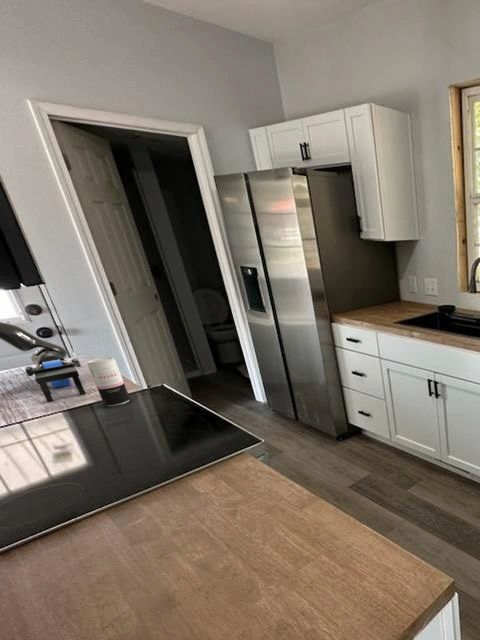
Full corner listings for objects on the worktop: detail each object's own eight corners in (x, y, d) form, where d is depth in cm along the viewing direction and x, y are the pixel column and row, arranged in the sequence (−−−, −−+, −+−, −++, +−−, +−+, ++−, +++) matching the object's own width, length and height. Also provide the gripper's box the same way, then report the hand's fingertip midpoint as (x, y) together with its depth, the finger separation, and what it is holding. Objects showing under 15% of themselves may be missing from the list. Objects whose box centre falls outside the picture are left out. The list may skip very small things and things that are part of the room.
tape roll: (53, 389, 149) (41, 362, 147) (53, 387, 156) (41, 362, 154) (71, 385, 153) (60, 359, 150) (70, 384, 159) (59, 359, 157)
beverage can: (104, 402, 137) (86, 360, 132) (130, 397, 142) (114, 355, 136) (104, 408, 133) (86, 364, 128) (131, 402, 137) (114, 359, 132)
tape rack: (44, 393, 148) (33, 370, 145) (82, 385, 155) (72, 363, 152) (46, 402, 139) (35, 378, 136) (87, 393, 146) (77, 370, 143)
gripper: (21, 358, 157) (22, 365, 147) (73, 349, 167) (77, 356, 157) (29, 376, 160) (31, 385, 150) (80, 367, 170) (85, 374, 160)
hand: (55, 370), depth 154 cm, fingers open, 8 cm apart
